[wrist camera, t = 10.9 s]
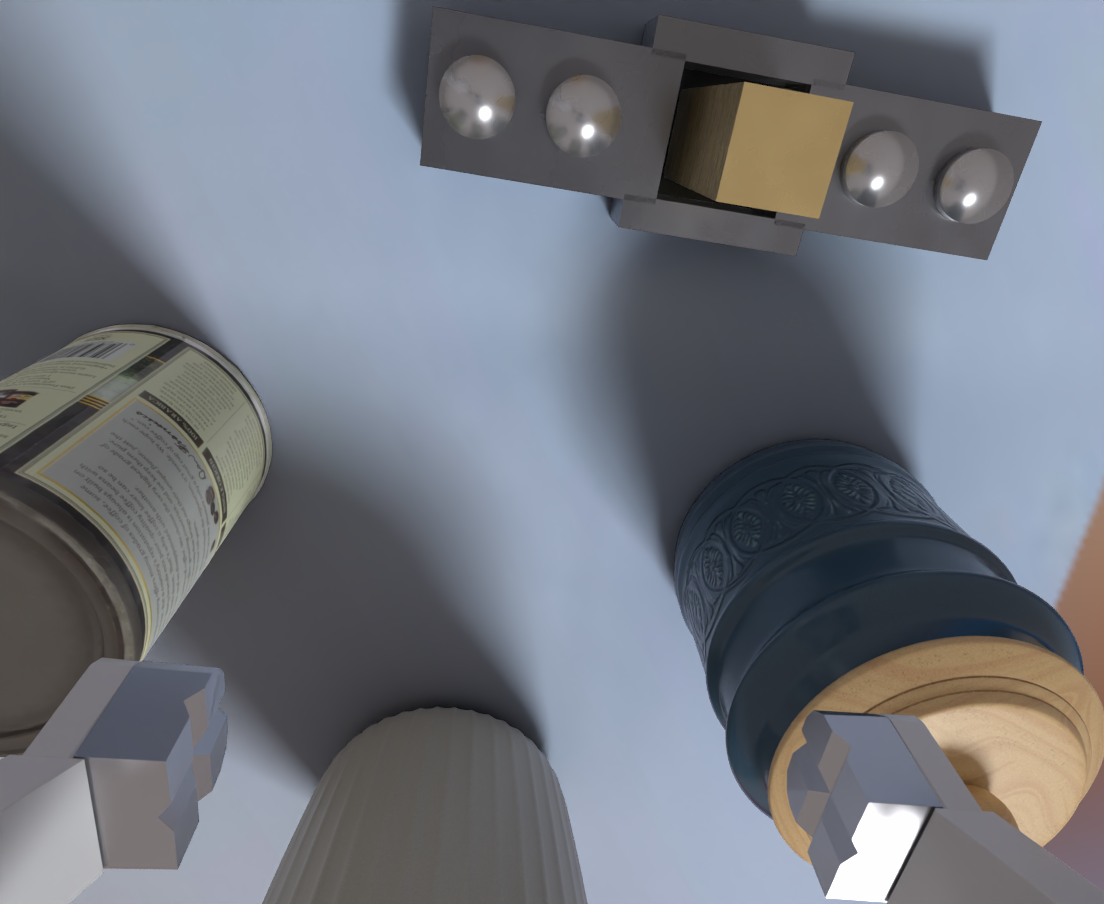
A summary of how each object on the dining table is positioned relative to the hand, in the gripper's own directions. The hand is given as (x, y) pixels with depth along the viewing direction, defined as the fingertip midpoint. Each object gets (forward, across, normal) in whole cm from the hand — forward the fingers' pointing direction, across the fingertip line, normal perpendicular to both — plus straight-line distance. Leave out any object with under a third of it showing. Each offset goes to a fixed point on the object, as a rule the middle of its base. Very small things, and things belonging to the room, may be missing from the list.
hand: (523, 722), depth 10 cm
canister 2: (+24, -16, +11) cm, 30 cm away
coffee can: (+24, +15, +8) cm, 30 cm away
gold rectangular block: (+24, -7, -7) cm, 26 cm away
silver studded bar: (+24, -7, -7) cm, 26 cm away
